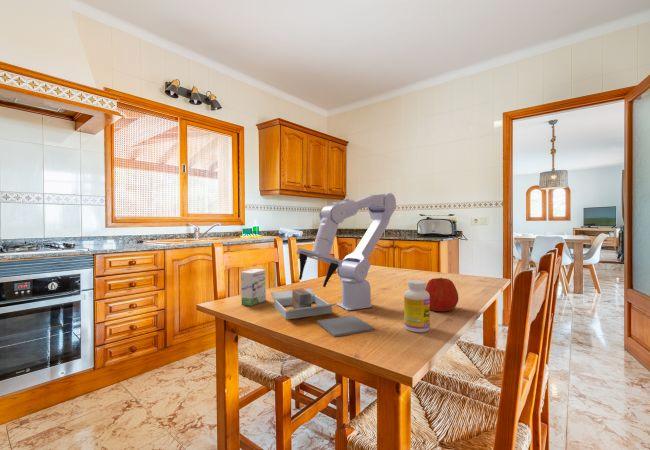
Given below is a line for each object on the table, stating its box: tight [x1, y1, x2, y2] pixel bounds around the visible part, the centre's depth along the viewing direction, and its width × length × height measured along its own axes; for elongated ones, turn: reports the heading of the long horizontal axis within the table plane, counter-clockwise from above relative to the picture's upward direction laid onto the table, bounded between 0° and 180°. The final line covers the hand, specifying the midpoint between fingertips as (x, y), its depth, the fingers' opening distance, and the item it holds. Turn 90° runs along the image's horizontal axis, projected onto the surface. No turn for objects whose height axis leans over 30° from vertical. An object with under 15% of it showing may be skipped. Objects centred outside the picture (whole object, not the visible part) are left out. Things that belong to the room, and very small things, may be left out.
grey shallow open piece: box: [270, 288, 338, 321], centre depth 101 cm, size 15×23×4 cm, turn 23°
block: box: [291, 288, 312, 309], centre depth 101 cm, size 4×8×6 cm, turn 23°
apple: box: [425, 277, 459, 312], centre depth 100 cm, size 11×11×11 cm
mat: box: [316, 314, 375, 338], centre depth 85 cm, size 12×12×1 cm
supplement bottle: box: [403, 279, 431, 333], centre depth 82 cm, size 7×7×13 cm
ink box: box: [240, 268, 267, 307], centre depth 111 cm, size 8×5×12 cm, turn 154°
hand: (312, 283), depth 93 cm, fingers open, 7 cm apart
